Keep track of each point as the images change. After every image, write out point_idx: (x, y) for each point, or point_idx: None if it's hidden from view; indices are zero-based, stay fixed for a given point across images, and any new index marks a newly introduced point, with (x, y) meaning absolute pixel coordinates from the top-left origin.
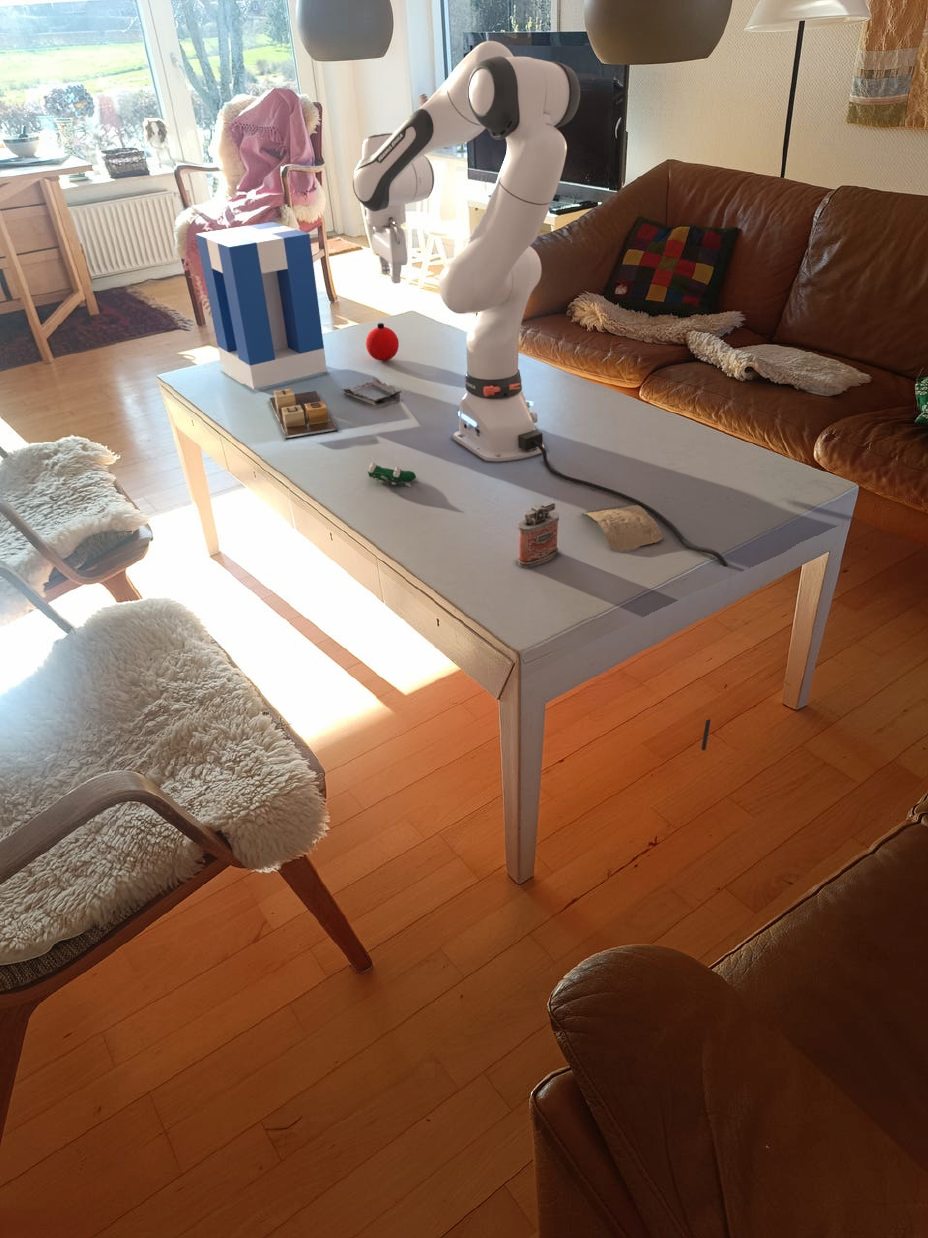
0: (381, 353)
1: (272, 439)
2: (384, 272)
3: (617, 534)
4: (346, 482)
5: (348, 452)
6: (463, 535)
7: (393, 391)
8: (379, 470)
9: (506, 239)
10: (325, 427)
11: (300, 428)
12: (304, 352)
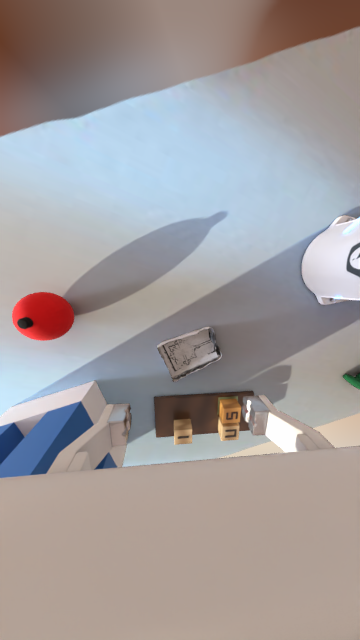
0: (73, 321)
1: (241, 435)
2: (129, 422)
3: None
4: (340, 397)
5: (295, 389)
6: None
7: (197, 332)
8: None
9: None
10: None
11: (240, 419)
12: (92, 422)
